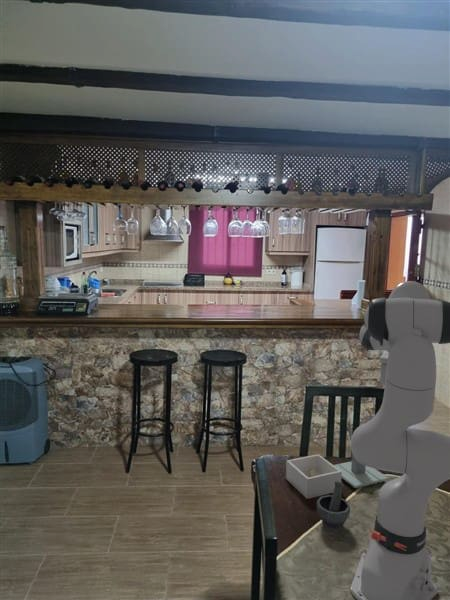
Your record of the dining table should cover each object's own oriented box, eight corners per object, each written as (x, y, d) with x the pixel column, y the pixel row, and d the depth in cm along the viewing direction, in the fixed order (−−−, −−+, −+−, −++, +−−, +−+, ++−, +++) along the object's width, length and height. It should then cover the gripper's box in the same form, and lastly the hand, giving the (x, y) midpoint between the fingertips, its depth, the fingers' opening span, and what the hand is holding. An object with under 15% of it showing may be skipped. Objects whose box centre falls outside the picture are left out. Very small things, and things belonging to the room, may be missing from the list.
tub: (317, 471, 160) (318, 454, 160) (340, 490, 147) (341, 471, 147) (285, 478, 155) (286, 460, 154) (307, 498, 142) (307, 479, 142)
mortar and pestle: (342, 540, 122) (344, 500, 120) (311, 528, 127) (313, 490, 126) (353, 520, 131) (355, 483, 130) (324, 509, 136) (326, 474, 135)
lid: (360, 464, 167) (361, 435, 165) (388, 483, 153) (390, 451, 151) (329, 471, 161) (330, 440, 160) (354, 492, 147) (356, 458, 146)
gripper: (398, 349, 160) (396, 384, 161) (377, 358, 145) (375, 397, 146) (415, 352, 156) (413, 388, 157) (396, 361, 140) (394, 402, 142)
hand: (395, 392), depth 151 cm, fingers open, 8 cm apart
